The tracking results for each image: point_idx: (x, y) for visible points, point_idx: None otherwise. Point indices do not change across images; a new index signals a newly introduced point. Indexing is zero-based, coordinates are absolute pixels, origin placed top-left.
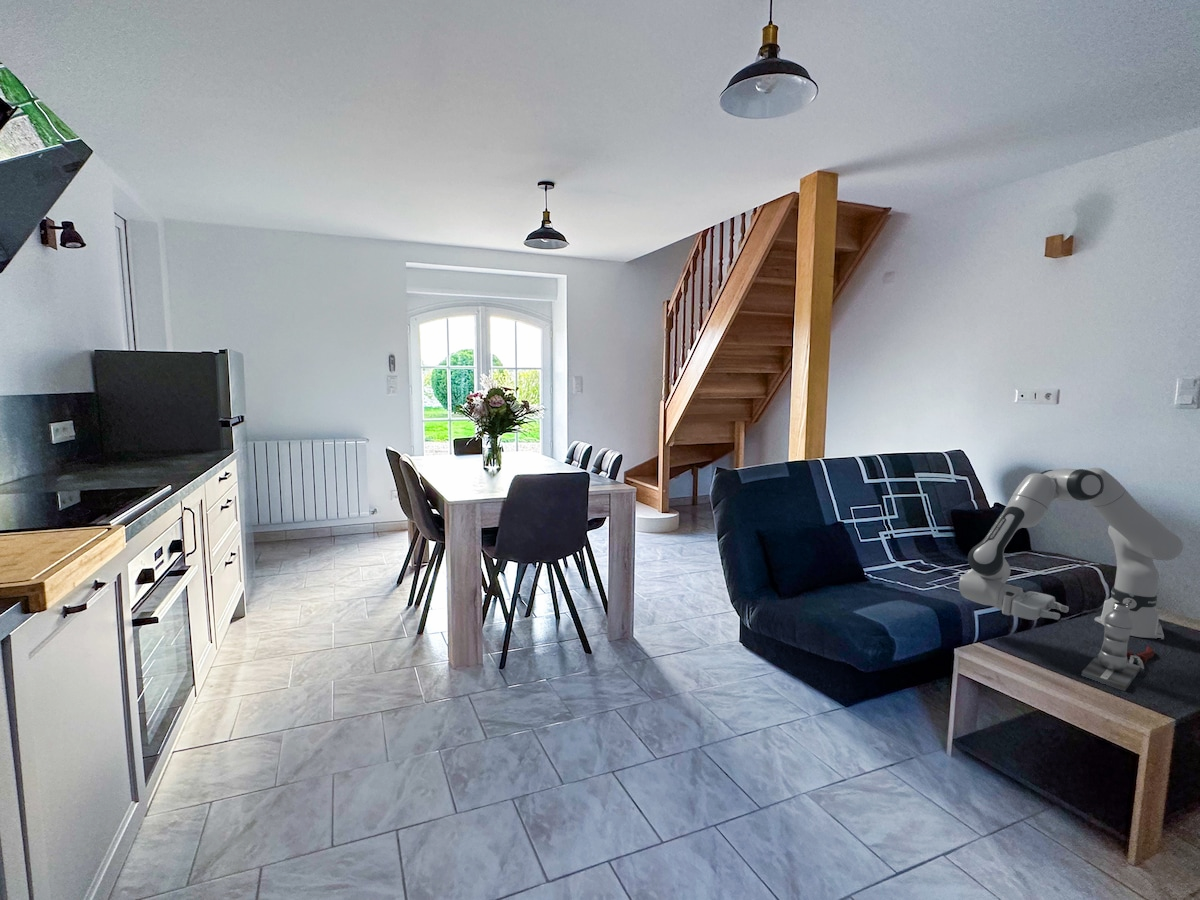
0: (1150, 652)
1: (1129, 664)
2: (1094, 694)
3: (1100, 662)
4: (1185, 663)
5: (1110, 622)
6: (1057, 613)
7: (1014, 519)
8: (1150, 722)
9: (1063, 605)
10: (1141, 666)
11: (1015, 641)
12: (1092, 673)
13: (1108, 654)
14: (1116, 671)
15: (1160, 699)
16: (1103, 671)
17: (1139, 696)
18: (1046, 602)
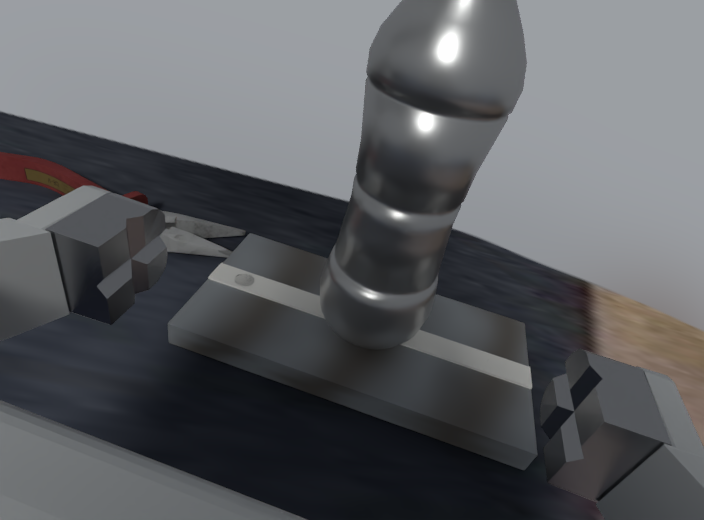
0: (67, 168)
1: (253, 255)
2: None
3: (398, 343)
4: (90, 140)
5: (515, 96)
6: (632, 378)
7: None
8: (694, 336)
9: (51, 213)
10: (221, 232)
11: None
12: (510, 409)
13: (432, 282)
14: None
15: (477, 270)
16: (431, 359)
17: (514, 311)
18: (163, 484)
